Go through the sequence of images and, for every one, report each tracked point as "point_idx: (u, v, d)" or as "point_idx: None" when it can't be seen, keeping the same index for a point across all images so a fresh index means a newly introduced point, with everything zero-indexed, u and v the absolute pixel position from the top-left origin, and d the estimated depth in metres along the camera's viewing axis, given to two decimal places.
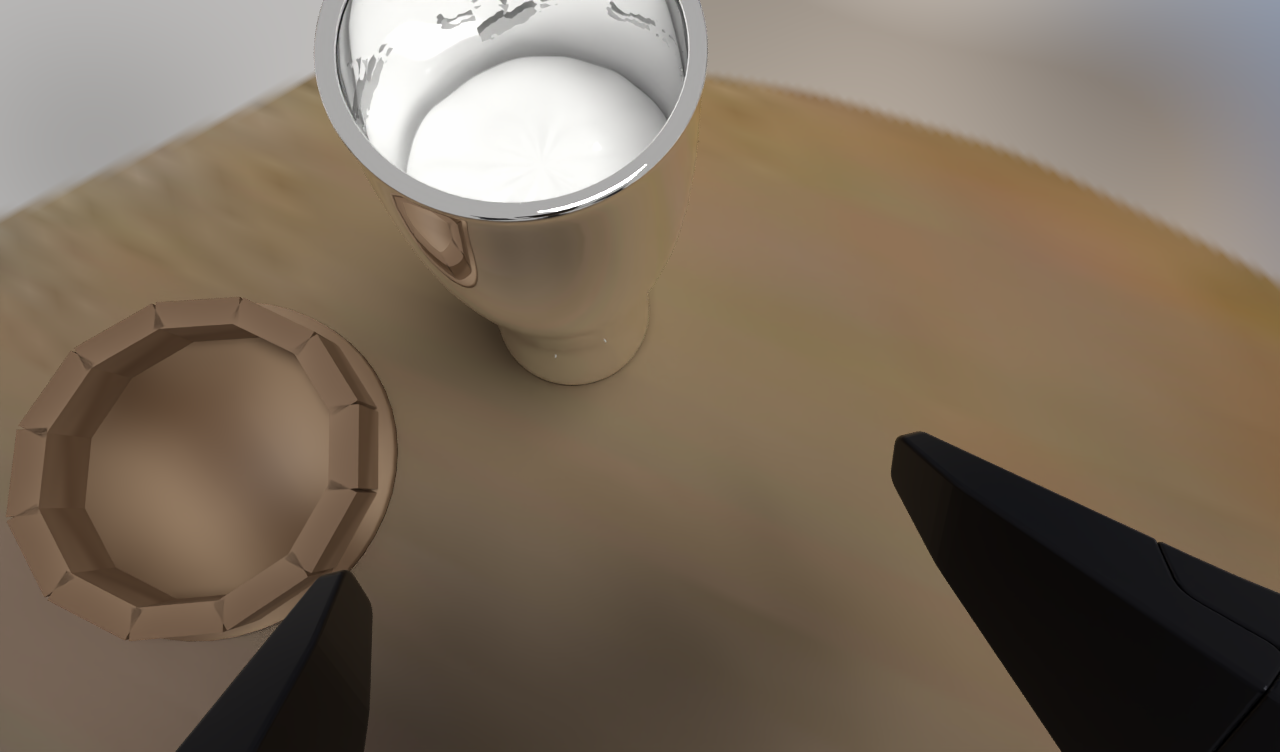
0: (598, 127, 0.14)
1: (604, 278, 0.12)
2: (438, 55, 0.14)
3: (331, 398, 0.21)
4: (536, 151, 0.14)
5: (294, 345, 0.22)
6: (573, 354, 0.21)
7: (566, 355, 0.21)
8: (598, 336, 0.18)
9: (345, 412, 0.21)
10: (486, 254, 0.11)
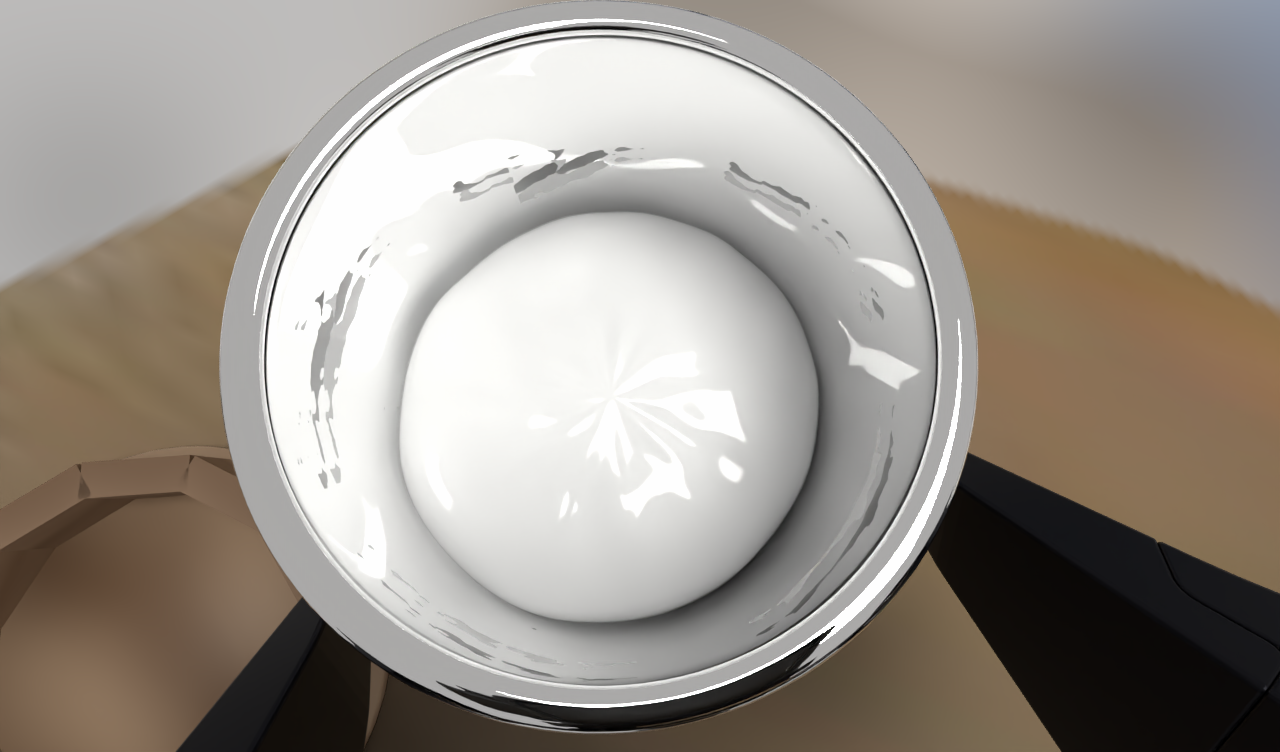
0: (695, 332, 0.09)
1: None
2: (454, 230, 0.09)
3: None
4: (603, 373, 0.09)
5: None
6: None
7: None
8: None
9: None
10: None
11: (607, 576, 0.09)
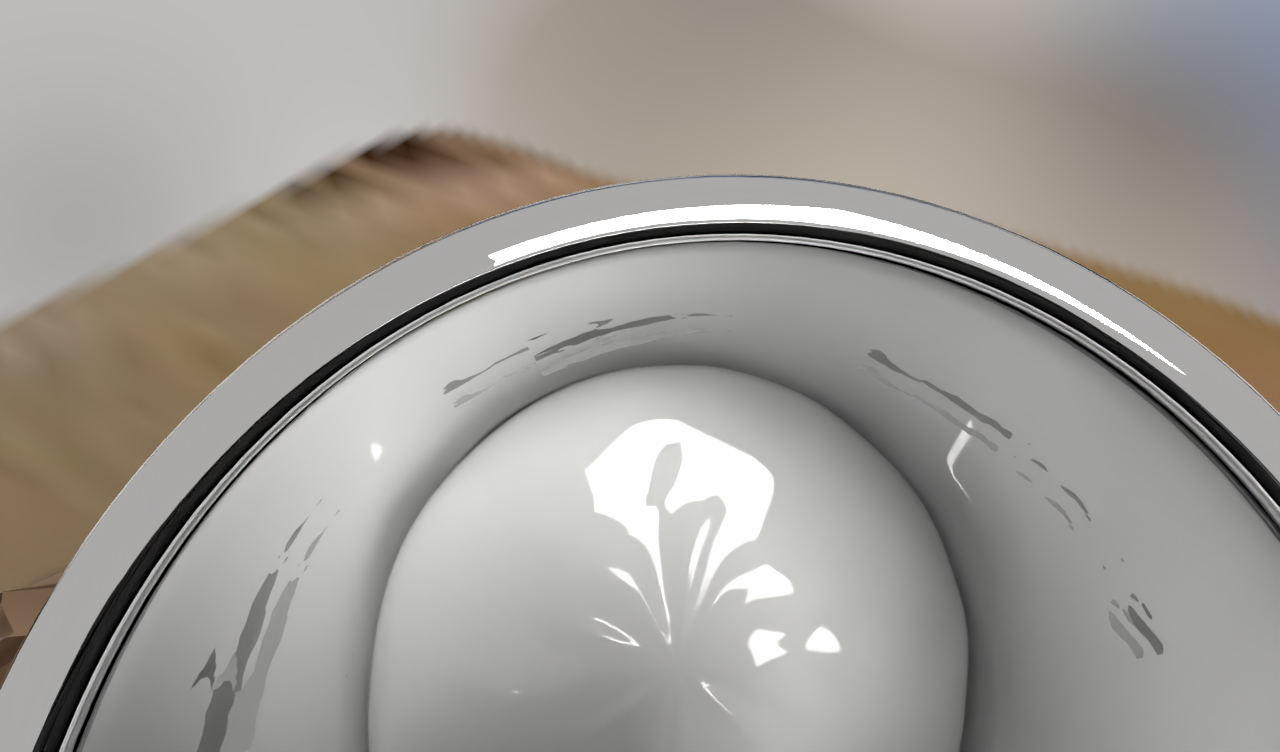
0: (796, 559, 0.07)
1: None
2: (447, 426, 0.06)
3: None
4: (665, 629, 0.06)
5: None
6: None
7: None
8: None
9: None
10: None
11: None
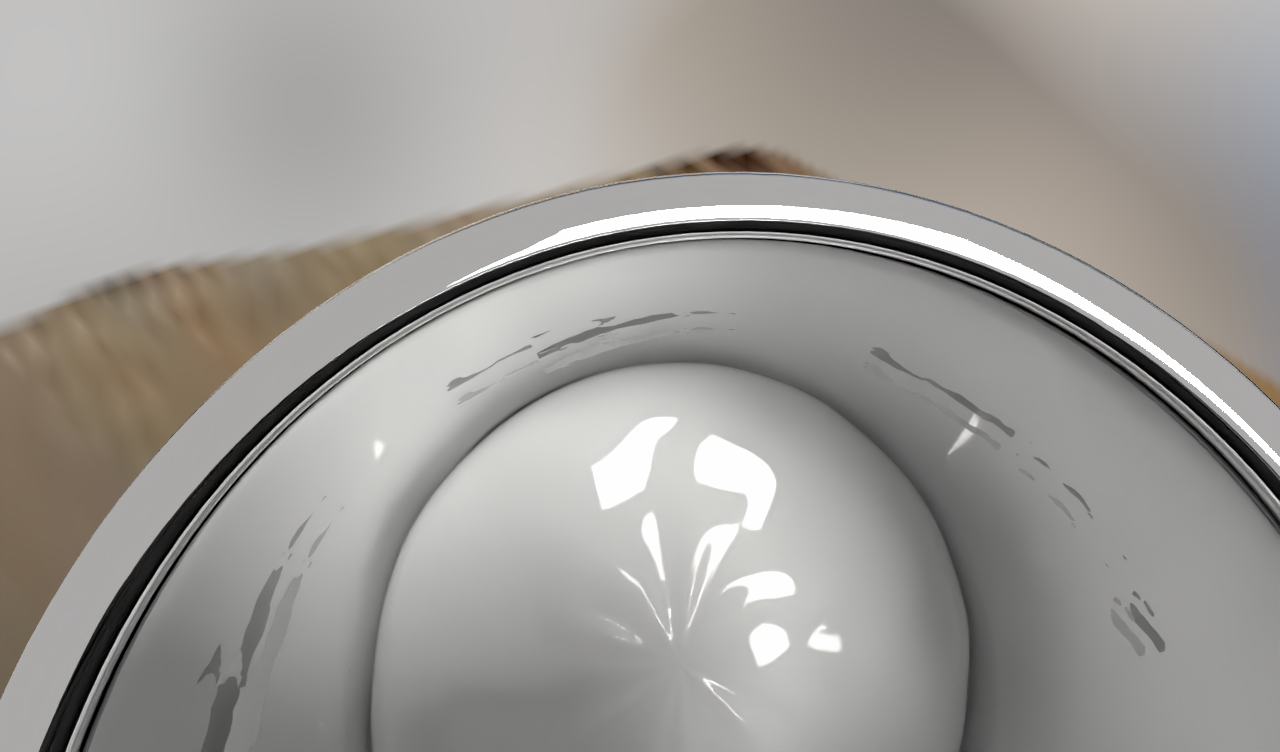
0: (798, 556, 0.07)
1: None
2: (450, 423, 0.06)
3: None
4: (667, 625, 0.06)
5: None
6: None
7: None
8: None
9: None
10: None
11: None
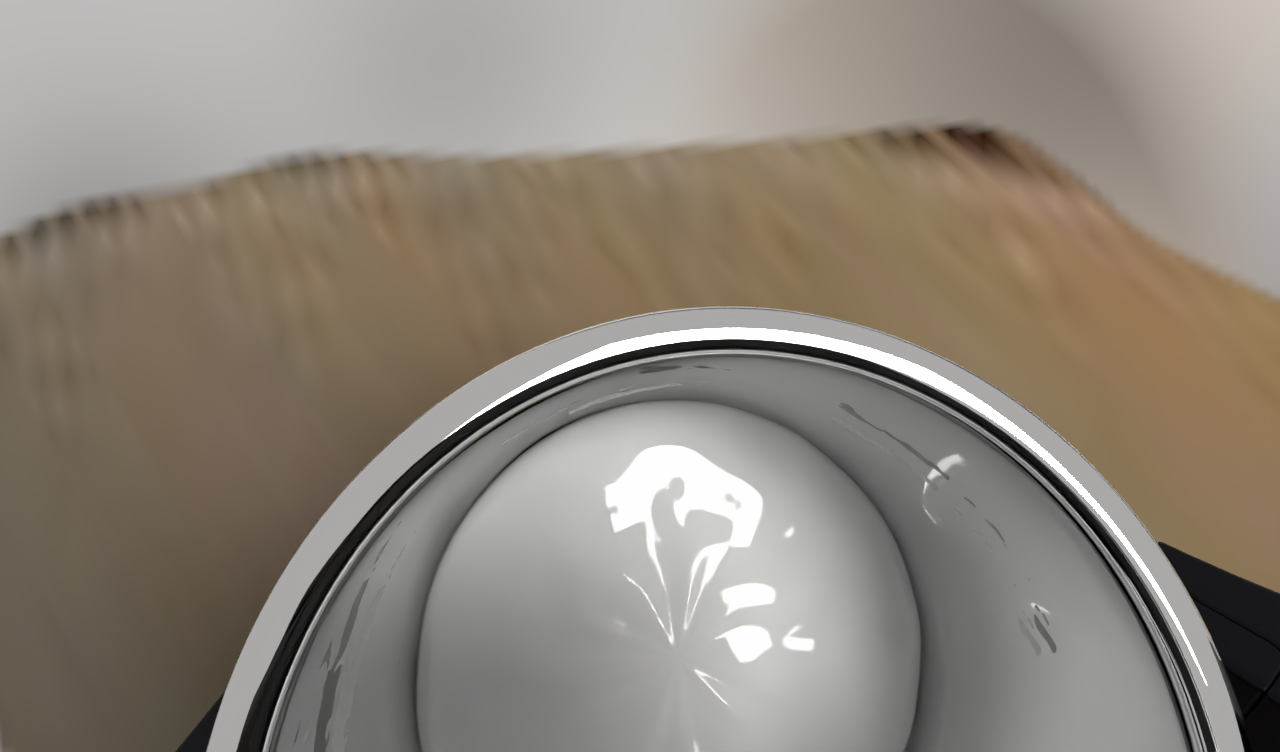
0: (778, 570, 0.08)
1: None
2: (489, 457, 0.07)
3: None
4: (668, 627, 0.07)
5: None
6: None
7: None
8: None
9: None
10: None
11: None
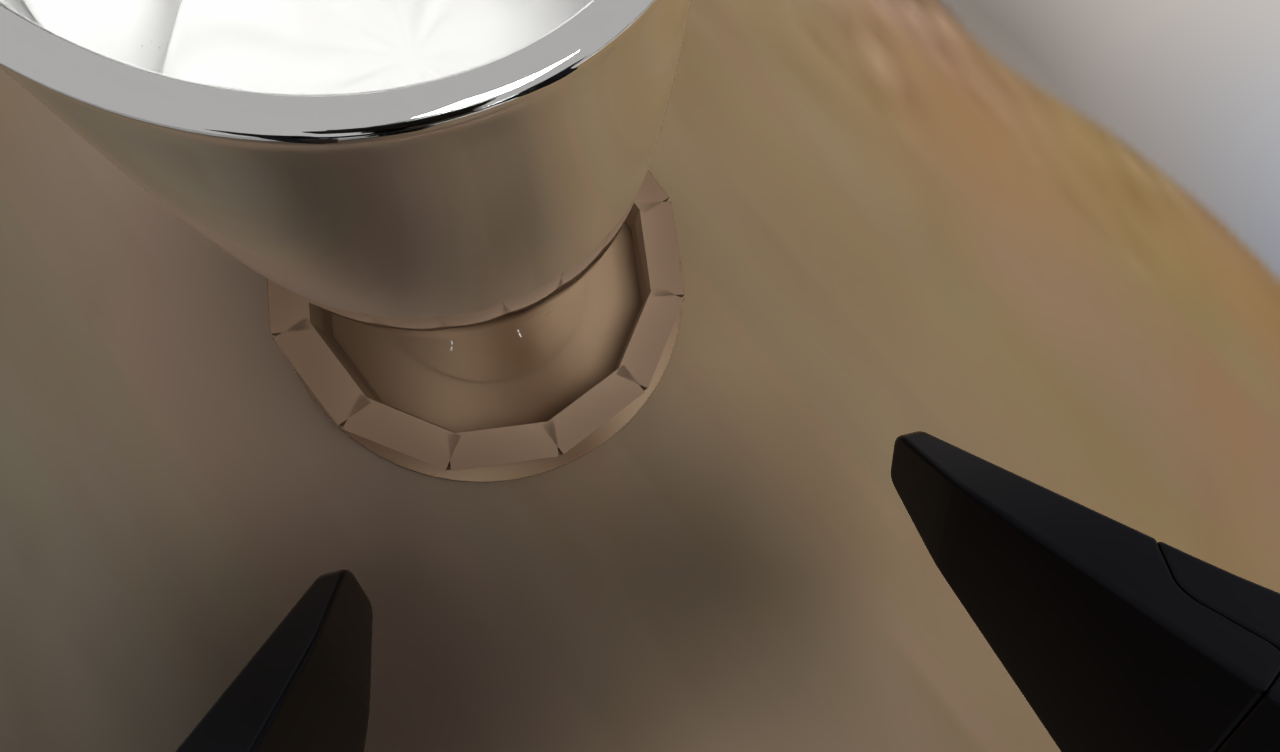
0: (515, 7, 0.09)
1: (499, 269, 0.07)
2: None
3: (658, 277, 0.18)
4: (404, 33, 0.08)
5: (643, 200, 0.18)
6: (475, 349, 0.15)
7: (466, 349, 0.15)
8: (507, 334, 0.13)
9: (666, 300, 0.18)
10: (235, 208, 0.05)
11: None
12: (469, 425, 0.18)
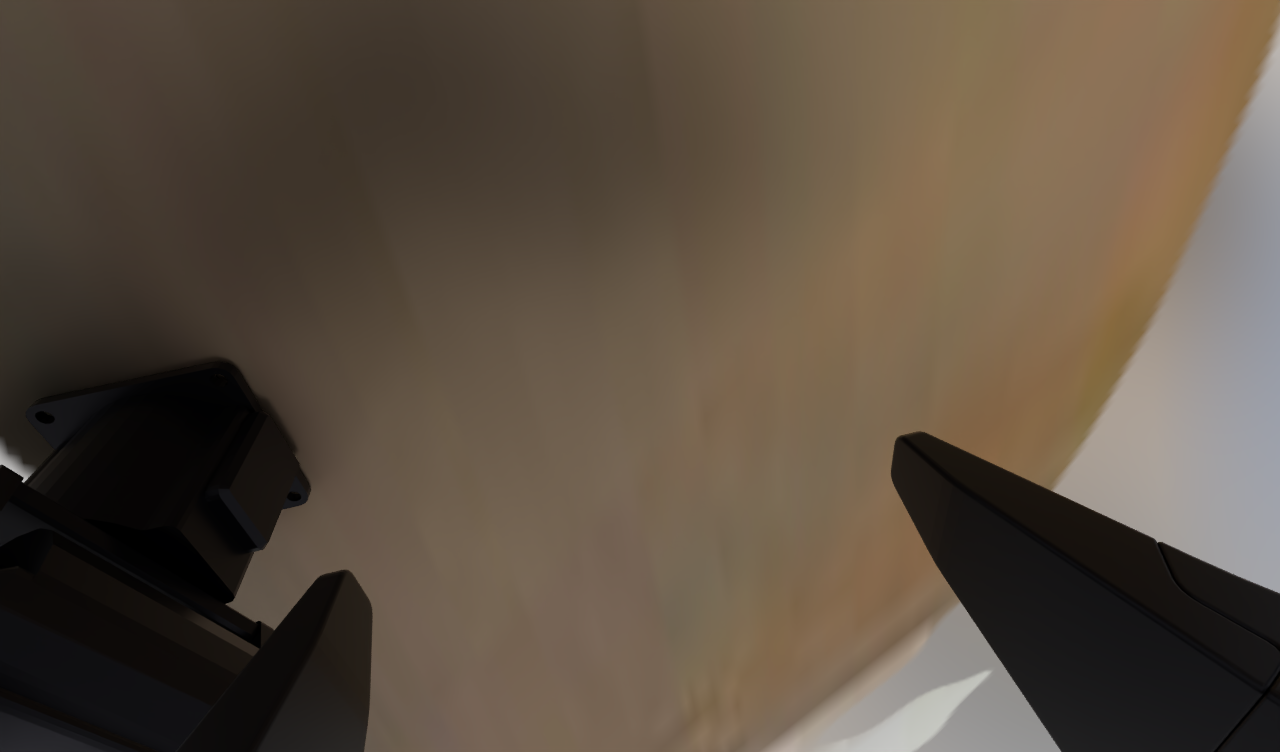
0: None
1: None
2: None
3: None
4: None
5: None
6: None
7: None
8: None
9: None
10: None
11: None
12: None
